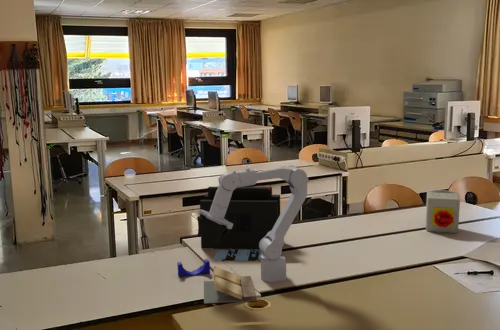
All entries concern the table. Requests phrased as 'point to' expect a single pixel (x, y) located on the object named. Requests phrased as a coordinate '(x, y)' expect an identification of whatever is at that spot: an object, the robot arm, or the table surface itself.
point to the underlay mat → (218, 294)
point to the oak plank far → (226, 275)
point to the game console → (242, 222)
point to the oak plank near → (228, 287)
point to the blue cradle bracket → (199, 271)
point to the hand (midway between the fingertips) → (207, 240)
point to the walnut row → (247, 288)
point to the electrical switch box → (442, 211)
